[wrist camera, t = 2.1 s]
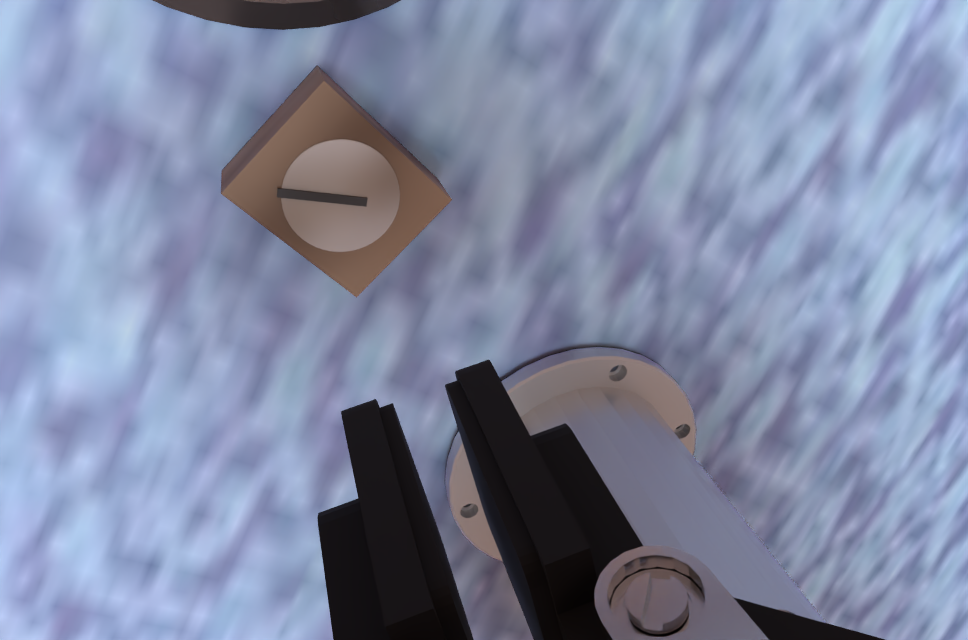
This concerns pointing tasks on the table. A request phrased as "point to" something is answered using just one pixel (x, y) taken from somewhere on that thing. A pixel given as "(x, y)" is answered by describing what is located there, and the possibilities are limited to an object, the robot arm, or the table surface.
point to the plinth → (278, 12)
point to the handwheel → (283, 1)
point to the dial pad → (333, 184)
